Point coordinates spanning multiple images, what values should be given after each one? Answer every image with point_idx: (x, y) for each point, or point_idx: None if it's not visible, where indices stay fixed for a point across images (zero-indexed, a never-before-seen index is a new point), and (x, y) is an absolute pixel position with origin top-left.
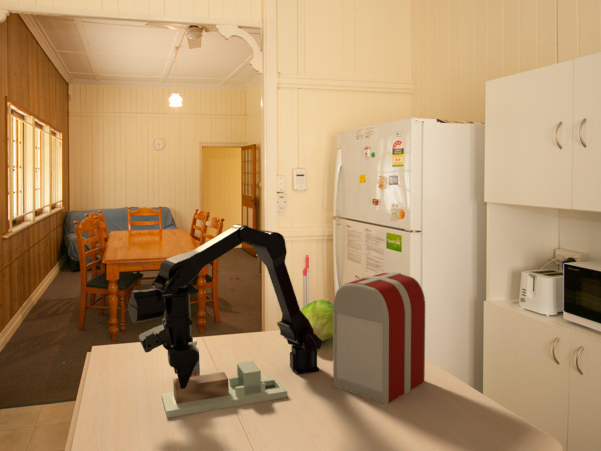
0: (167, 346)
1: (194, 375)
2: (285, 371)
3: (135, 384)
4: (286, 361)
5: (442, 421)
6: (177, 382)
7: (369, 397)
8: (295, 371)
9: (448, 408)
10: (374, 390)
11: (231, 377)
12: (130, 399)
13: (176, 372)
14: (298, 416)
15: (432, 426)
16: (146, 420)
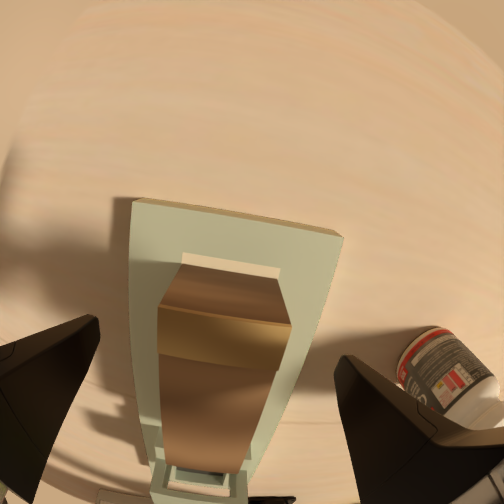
0: (478, 471)
1: (401, 378)
2: (279, 491)
3: (485, 192)
4: (320, 494)
5: (56, 477)
6: (213, 333)
7: (117, 493)
8: (259, 499)
9: (81, 493)
10: (108, 501)
11: (247, 462)
12: (402, 123)
13: (342, 364)
14: (72, 436)
15: (46, 468)
16: (166, 117)
